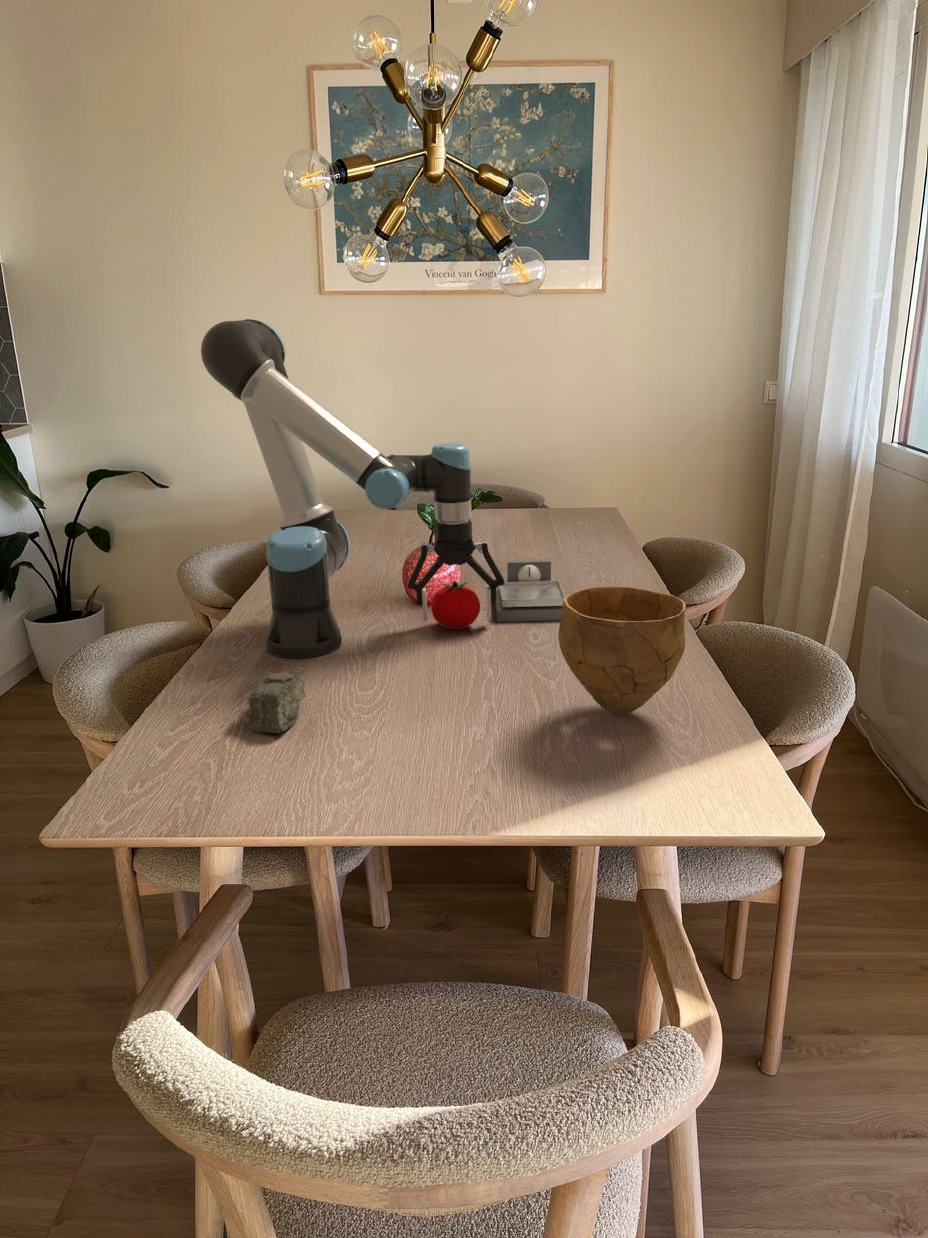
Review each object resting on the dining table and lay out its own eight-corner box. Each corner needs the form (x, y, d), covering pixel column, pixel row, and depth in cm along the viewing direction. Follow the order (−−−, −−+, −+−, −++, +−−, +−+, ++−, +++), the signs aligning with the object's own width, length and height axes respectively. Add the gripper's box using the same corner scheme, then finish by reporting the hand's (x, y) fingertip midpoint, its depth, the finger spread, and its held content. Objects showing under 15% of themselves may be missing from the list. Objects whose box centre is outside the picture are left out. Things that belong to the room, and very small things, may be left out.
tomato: (470, 637, 193) (469, 591, 190) (424, 632, 196) (422, 587, 193) (487, 622, 202) (486, 577, 199) (442, 617, 206) (441, 574, 202)
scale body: (571, 619, 202) (572, 580, 199) (497, 621, 202) (497, 581, 199) (562, 595, 219) (562, 558, 216) (494, 596, 219) (493, 559, 216)
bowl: (554, 690, 166) (555, 582, 160) (669, 689, 165) (674, 580, 159) (562, 742, 146) (563, 621, 140) (692, 741, 146) (700, 620, 139)
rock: (247, 675, 164) (302, 658, 164) (261, 709, 166) (314, 692, 166) (235, 712, 147) (295, 693, 148) (250, 750, 150) (310, 730, 150)
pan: (566, 608, 202) (567, 598, 201) (502, 609, 202) (502, 599, 201) (559, 589, 215) (559, 580, 214) (499, 590, 215) (499, 581, 214)
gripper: (513, 514, 195) (514, 610, 202) (393, 518, 195) (399, 614, 202) (515, 521, 188) (517, 621, 195) (391, 526, 188) (397, 626, 195)
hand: (457, 618), depth 199 cm, fingers open, 13 cm apart
